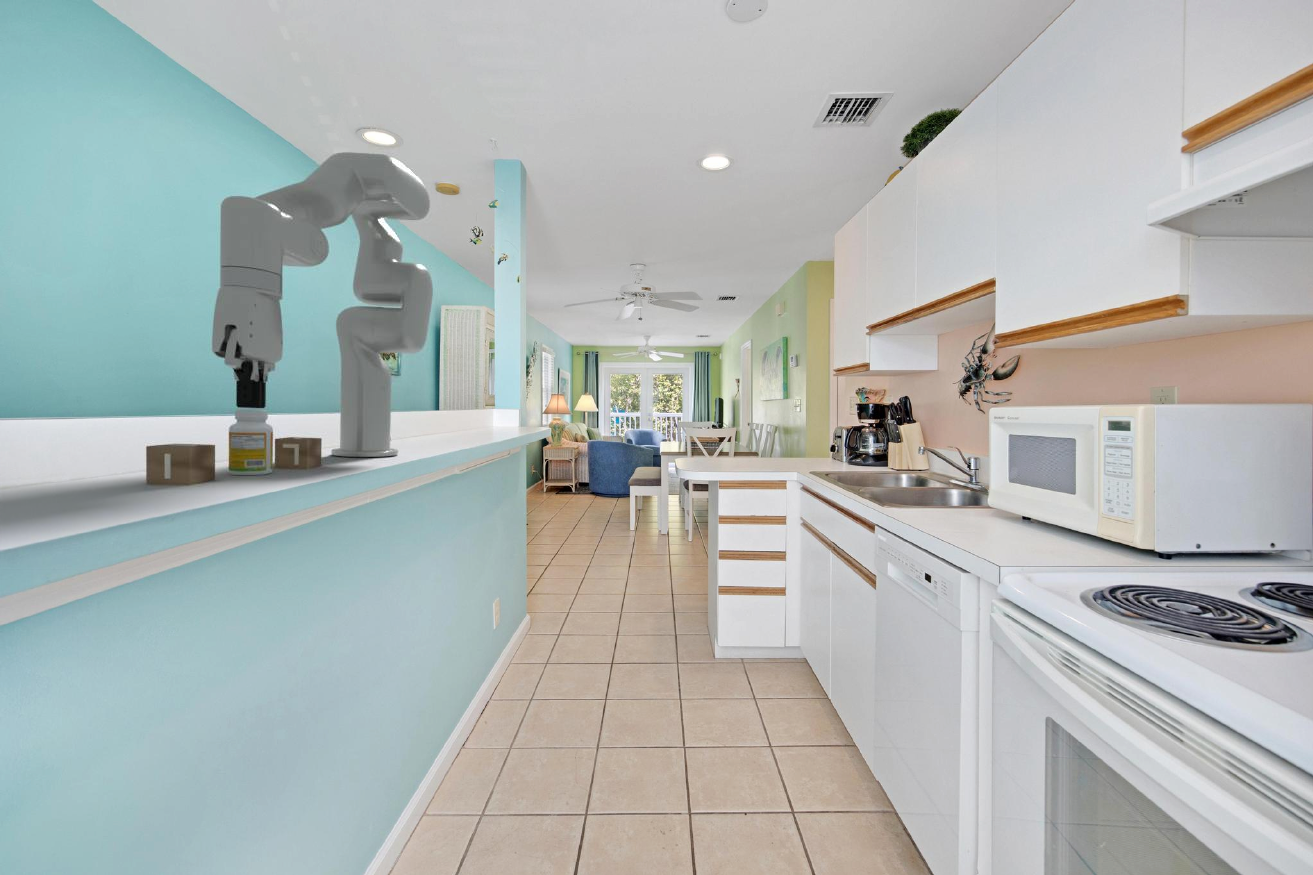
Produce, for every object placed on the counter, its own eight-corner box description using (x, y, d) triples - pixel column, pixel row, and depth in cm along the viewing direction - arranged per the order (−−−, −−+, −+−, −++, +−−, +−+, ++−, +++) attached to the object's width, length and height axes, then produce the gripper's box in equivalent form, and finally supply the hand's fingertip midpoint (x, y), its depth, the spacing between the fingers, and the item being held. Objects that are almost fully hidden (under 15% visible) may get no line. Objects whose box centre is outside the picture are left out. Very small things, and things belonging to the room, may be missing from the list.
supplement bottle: (247, 471, 86) (248, 409, 85) (281, 472, 86) (281, 410, 85) (219, 474, 81) (219, 409, 80) (254, 476, 80) (255, 410, 80)
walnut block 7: (290, 465, 95) (290, 436, 95) (321, 466, 96) (321, 437, 96) (274, 468, 90) (274, 438, 90) (306, 469, 91) (306, 439, 91)
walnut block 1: (174, 479, 75) (174, 443, 75) (215, 480, 76) (215, 444, 75) (145, 485, 70) (145, 445, 70) (188, 486, 71) (188, 446, 70)
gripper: (254, 294, 89) (253, 407, 89) (189, 271, 74) (188, 406, 75) (304, 297, 90) (302, 409, 91) (249, 275, 75) (248, 408, 76)
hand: (251, 407), depth 83 cm, fingers closed
